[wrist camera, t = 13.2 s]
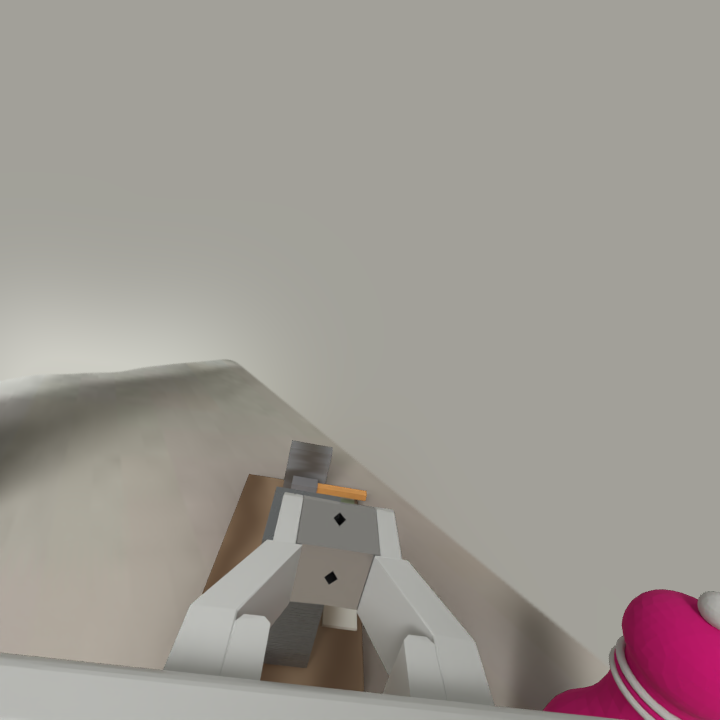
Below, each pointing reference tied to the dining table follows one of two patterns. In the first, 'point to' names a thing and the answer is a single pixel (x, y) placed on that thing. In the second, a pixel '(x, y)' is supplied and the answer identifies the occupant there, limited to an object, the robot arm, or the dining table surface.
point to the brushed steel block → (292, 607)
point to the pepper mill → (658, 663)
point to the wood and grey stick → (326, 488)
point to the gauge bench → (337, 625)
